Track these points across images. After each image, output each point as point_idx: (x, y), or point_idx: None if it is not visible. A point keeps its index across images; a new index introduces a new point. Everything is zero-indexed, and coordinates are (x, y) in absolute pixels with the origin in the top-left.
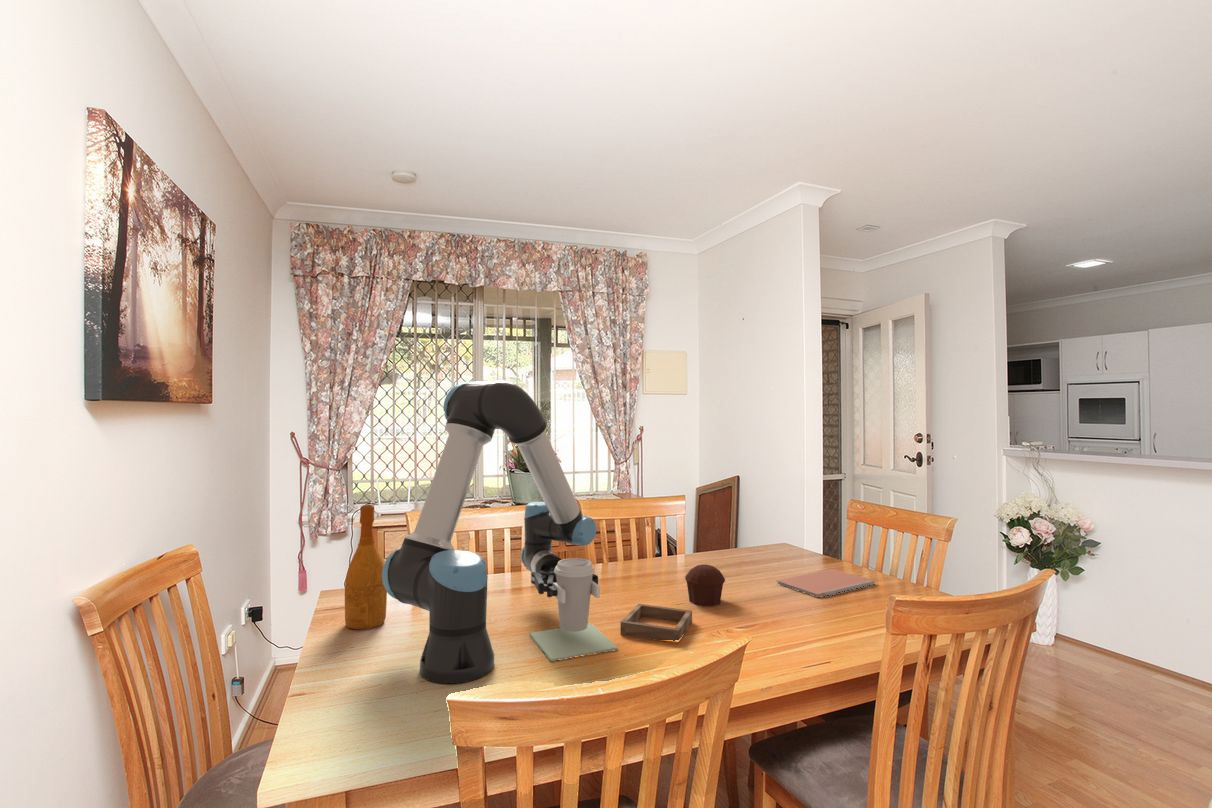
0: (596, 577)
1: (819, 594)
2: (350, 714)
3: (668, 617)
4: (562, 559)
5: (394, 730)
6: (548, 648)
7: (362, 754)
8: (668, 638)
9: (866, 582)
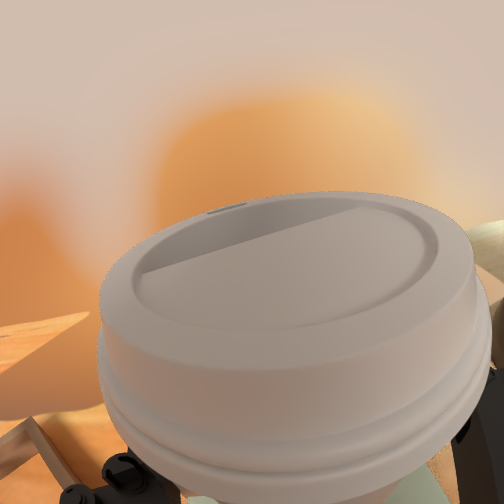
0: (82, 486)
1: None
2: None
3: None
4: (460, 285)
5: (498, 250)
6: None
7: (493, 234)
8: (52, 444)
9: None
